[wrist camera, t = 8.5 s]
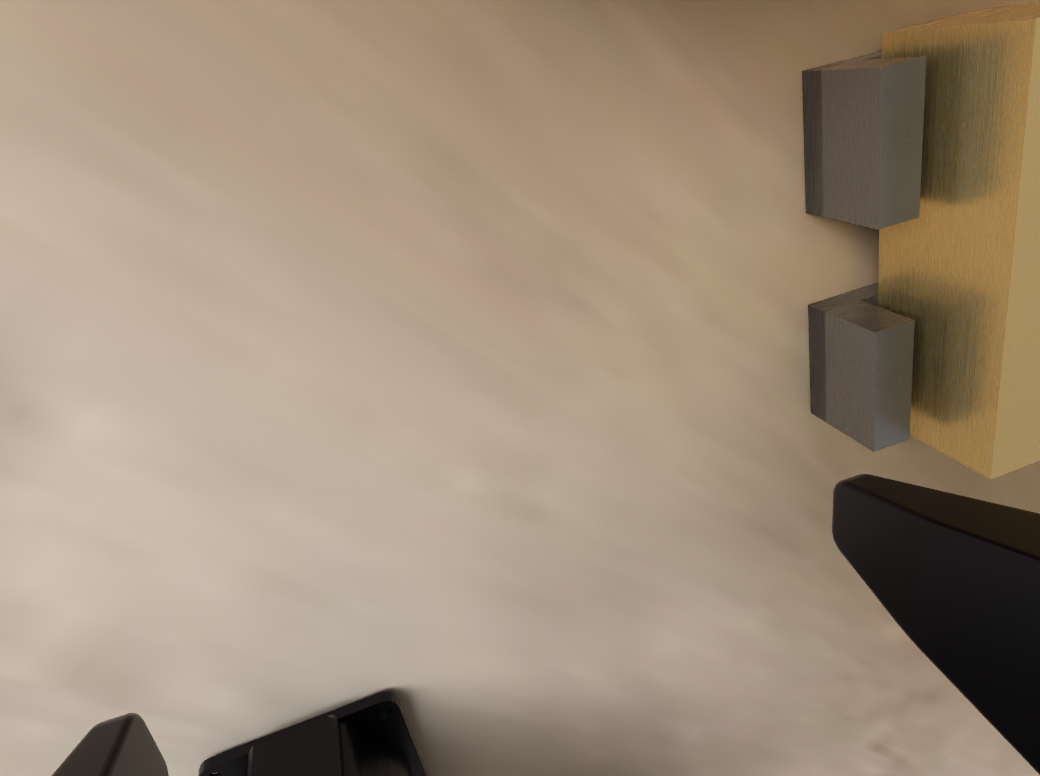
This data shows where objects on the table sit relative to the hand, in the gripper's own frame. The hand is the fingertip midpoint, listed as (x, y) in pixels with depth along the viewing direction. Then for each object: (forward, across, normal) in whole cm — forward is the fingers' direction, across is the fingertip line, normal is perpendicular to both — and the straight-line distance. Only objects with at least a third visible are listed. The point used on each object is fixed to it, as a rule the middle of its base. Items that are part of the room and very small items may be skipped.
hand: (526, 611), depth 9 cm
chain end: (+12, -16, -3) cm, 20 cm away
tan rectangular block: (+11, -16, 0) cm, 20 cm away
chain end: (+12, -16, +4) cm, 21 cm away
